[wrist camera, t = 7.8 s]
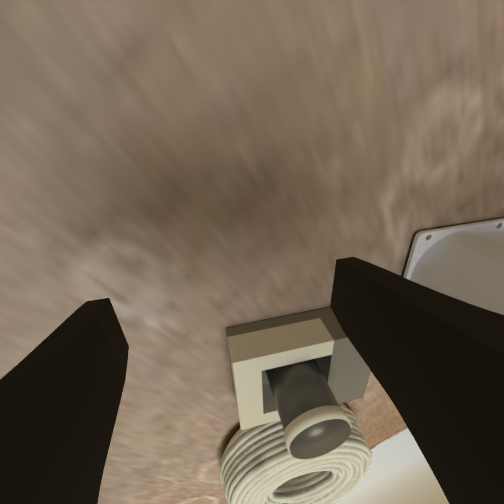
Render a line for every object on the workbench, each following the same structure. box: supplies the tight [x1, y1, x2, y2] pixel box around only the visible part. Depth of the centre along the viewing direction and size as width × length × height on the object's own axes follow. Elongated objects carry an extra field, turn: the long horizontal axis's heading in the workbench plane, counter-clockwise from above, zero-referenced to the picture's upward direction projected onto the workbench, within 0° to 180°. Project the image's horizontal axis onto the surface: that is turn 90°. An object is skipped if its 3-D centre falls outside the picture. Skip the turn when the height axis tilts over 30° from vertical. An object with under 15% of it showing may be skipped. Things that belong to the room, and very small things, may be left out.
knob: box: [265, 359, 352, 459], centre depth 21 cm, size 5×5×7 cm
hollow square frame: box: [226, 307, 371, 430], centre depth 23 cm, size 12×9×4 cm
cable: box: [220, 403, 372, 504], centre depth 31 cm, size 18×18×6 cm
